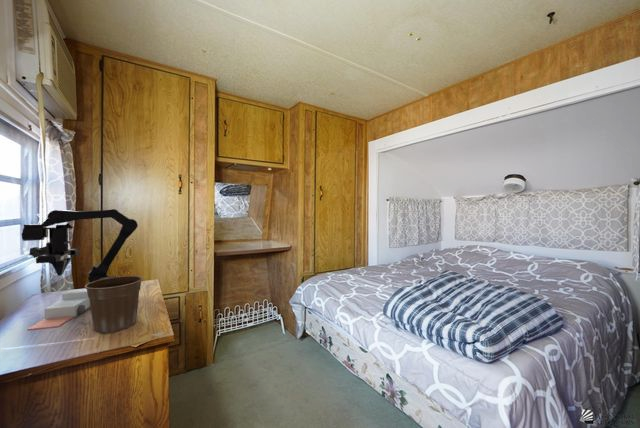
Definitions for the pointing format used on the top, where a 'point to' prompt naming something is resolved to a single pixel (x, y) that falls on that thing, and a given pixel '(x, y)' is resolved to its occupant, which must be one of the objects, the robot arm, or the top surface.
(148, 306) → the top surface
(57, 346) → the top surface
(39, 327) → the tailgate
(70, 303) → the white stepped block
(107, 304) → the plant pot
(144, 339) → the top surface
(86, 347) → the top surface
